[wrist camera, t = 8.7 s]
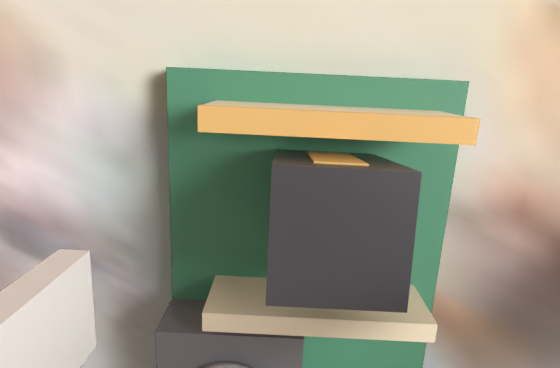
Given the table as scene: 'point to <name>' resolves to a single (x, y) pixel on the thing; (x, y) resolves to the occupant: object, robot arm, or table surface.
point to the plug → (341, 231)
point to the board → (256, 209)
